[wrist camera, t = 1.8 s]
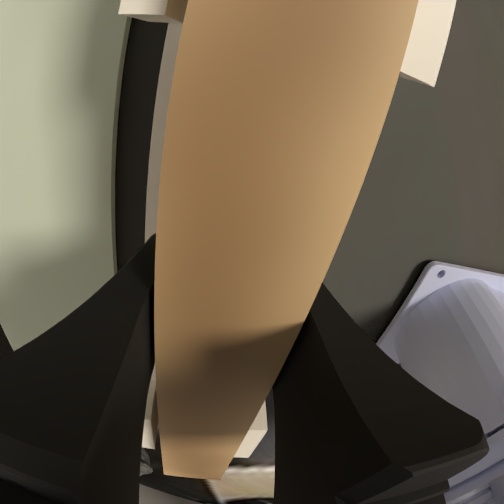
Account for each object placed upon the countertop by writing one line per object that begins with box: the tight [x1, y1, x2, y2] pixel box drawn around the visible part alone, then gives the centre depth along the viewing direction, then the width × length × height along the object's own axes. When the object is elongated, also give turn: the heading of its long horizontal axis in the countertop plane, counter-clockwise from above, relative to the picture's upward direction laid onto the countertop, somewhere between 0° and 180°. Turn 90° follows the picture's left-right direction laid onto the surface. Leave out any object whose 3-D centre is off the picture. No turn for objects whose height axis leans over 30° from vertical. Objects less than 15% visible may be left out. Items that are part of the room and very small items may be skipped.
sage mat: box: [0, 0, 132, 351], centre depth 11 cm, size 9×26×1 cm, turn 168°
